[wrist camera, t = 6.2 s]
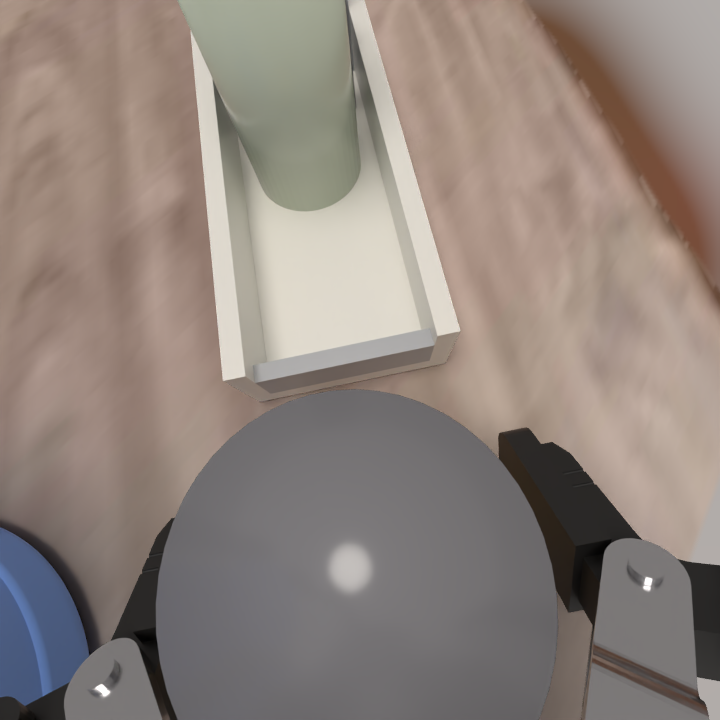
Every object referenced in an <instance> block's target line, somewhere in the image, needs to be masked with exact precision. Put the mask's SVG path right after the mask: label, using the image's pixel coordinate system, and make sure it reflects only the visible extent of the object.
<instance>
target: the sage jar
mask: <svg viewBox="0 0 720 720" xmlns="http://www.w3.org/2000/svg"><path fill="white" fill-rule="evenodd" d="M177 1H178V3H179V5H180V7H181V10H182V12H183V14H184V16H185V18H186V21H187V23H188V25H189V27H190V30H191V32H192V34H193V36H194V38H195V41H196V43H197V45H198V47H199V50H200V52H201V54H202V56H203V58H204V61H205V63H206V65H207V67H208V70H209V72H210V74H211V76H212V78H213V81H214V83H215V85H216V87H217V90H218V92H219V94H220V96H221V98H222V101H223V103H224V105H225V107H226V110H227V112H228V114H229V116H230V118H231V121H232V123H233V125H234V127H235V129H236V132H237V134H238V136H239V138H240V141H241V143H242V145H243V147H244V149H245V152H246V154H247V156H248V158H249V161H250V163H251V165H252V167H253V169H254V172H255V174H256V176H257V178H258V181H259V183H260V185H261V187H262V189H263V191H264V193H265V194H266V195H267V196H268V198H269V199H270V200H272V201H273V202H274V203H276V204H277V205H279V206H281V207H284V208H286V209H290V210H294V211H315V210H320V209H323V208H326V207H329V206H331V205H333V204H335V203H336V202H338V201H340V200H341V199H342V198H344V197H345V196H346V195H347V194H348V193H349V192H350V191H351V190H352V188H353V187H354V185H355V184H356V182H357V180H358V177H359V174H360V170H361V158H360V148H359V138H358V127H357V117H356V107H355V97H354V87H353V77H352V66H351V56H350V46H349V36H348V26H347V15H346V5H345V0H177Z"/></svg>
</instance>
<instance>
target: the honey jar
mask: <svg viewBox="0 0 720 720" xmlns="http://www.w3.org/2000/svg"><path fill="white" fill-rule="evenodd" d="M557 634H558V613H557V594H556V588H555V582H554V576H553V569H552V564H551V561H550V557H549V554H548V550H547V547H546V543H545V540H544V536H543V534H542V531H541V529H540V527H539V524H538V522H537V519H536V517H535V515H534V512H533V510H532V508H531V506H530V504H529V503H528V501H527V499H526V497H525V496H524V494H523V492H522V490H521V488H520V487H519V485H518V484H517V482H516V481H515V479H514V478H513V477H512V475H511V474H510V473H509V471H508V470H507V468H506V467H505V466H504V464H503V463H502V462H501V461H500V460H499V459H498V458H497V457H496V455H495V454H494V453H493V452H492V451H491V450H490V449H489V448H488V447H487V446H486V445H485V444H484V443H483V442H482V441H481V440H480V439H478V438H477V437H476V436H475V435H474V434H472V433H471V432H470V431H469V430H468V429H467V428H465V427H464V426H462V425H461V424H459V423H458V422H456V421H455V420H453V419H452V418H450V417H449V416H447V415H446V414H444V413H442V412H440V411H438V410H436V409H434V408H432V407H430V406H427V405H425V404H423V403H421V402H418V401H415V400H412V399H409V398H406V397H403V396H400V395H395V394H390V393H385V392H380V391H371V390H357V389H352V390H335V391H328V392H322V393H317V394H312V395H308V396H305V397H302V398H299V399H296V400H292V401H289V402H287V403H285V404H283V405H281V406H278V407H276V408H274V409H272V410H270V411H268V412H266V413H264V414H263V415H261V416H260V417H258V418H257V419H255V420H253V421H252V422H250V423H249V424H247V425H246V426H245V427H243V428H242V429H241V430H240V431H239V432H237V433H236V434H235V435H234V436H232V437H231V438H230V439H229V440H228V441H227V442H226V443H225V444H224V445H223V446H222V447H221V448H220V449H219V450H218V451H217V452H216V453H215V454H214V455H213V456H212V458H211V459H210V460H209V461H208V463H207V464H206V465H205V467H204V468H203V469H202V471H201V472H200V473H199V474H198V476H197V477H196V479H195V481H194V482H193V484H192V486H191V487H190V489H189V491H188V492H187V494H186V496H185V497H184V499H183V501H182V503H181V506H180V508H179V510H178V512H177V514H176V517H175V519H174V521H173V523H172V526H171V529H170V533H169V536H168V539H167V542H166V545H165V548H164V552H163V557H162V562H161V566H160V571H159V576H158V587H157V597H156V636H157V643H158V651H159V659H160V665H161V669H162V673H163V677H164V681H165V685H166V689H167V693H168V696H169V698H170V701H171V703H172V706H173V709H174V711H175V714H176V717H177V719H178V720H539V718H540V715H541V712H542V709H543V706H544V703H545V700H546V697H547V694H548V692H549V688H550V683H551V678H552V673H553V668H554V664H555V659H556V647H557Z"/></svg>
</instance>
